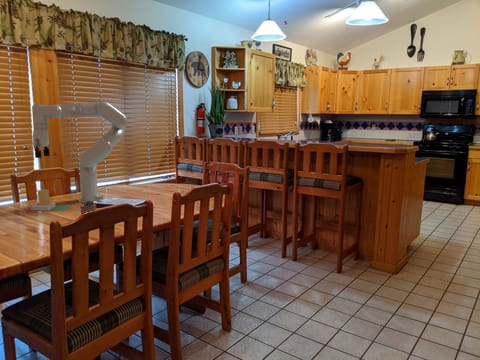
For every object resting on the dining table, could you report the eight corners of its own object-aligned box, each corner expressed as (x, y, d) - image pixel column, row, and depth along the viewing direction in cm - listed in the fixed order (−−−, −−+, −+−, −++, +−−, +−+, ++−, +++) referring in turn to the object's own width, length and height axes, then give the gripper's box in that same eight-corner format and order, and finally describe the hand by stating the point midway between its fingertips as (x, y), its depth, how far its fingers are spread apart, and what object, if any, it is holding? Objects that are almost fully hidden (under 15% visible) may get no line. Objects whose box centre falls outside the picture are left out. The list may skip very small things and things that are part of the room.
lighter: (94, 217, 195) (93, 198, 194) (97, 218, 193) (97, 199, 191) (79, 220, 189) (78, 201, 187) (82, 221, 187) (82, 202, 185)
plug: (49, 207, 209) (48, 189, 208) (46, 209, 205) (45, 191, 204) (41, 207, 209) (40, 189, 208) (37, 209, 205) (36, 191, 204)
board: (74, 206, 216) (74, 200, 216) (63, 212, 203) (63, 206, 202) (43, 206, 216) (43, 200, 216) (30, 212, 202) (29, 205, 202)
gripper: (41, 126, 221) (43, 155, 223) (25, 127, 204) (28, 158, 206) (54, 126, 221) (56, 155, 224) (39, 127, 204) (41, 158, 207)
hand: (42, 156), depth 215 cm, fingers open, 9 cm apart
